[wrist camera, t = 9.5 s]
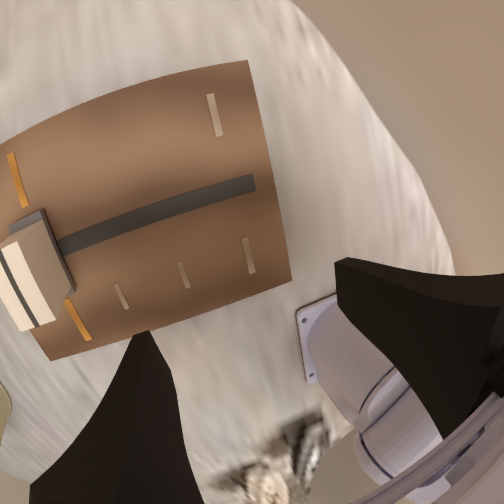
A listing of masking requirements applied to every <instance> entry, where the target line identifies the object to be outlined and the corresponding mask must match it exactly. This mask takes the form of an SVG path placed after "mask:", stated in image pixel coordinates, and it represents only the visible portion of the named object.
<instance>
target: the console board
mask: <svg viewBox="0 0 504 504" xmlns="http://www.w3.org/2000/svg"><path fill="white" fill-rule="evenodd" d="M41 209H43V211H44V214H45V217H46V219H47V222H48V225H49V227H50V230H51V233H52V235H53V238H54V240H55V242H56V245H57V247H58V250H59V252H60V254H61V257H62V259H63V261H64V263H65V266H66V268H67V270H68V272H69V274H70V276H71V278H72V280H73V283H74V285H75V287H76V289H77V290H76V292H75V293H74V294H71V295H69V296H66V298H65V300H64V303H63V305H62V307H61V310H60V312H59V314H58V317H57V319H56V320H55V321H52V322H49V323H46V324H43V325H40V327H37V328H35V327H34V328H31V329H29V330H30V332H31V333H32V335H33V336H34V338H35V339H36V341H37V342H38V344H39V345H40V347H41V348H42V350H43V351H44V353H45V354H46V356H47V357H48V358H49V360H50V361H53V360H57V359H60V358H64V357H67V356H71V355H74V354H78V353H81V352H85V351H88V350H91V349H95V348H98V347H101V346H105V345H108V344H111V343H114V342H118V341H121V340H124V339H127V338H130V337H133V335H135V334H138V333H141V332H144V331H147V330H149V331H152V330H155V329H158V328H161V327H164V326H167V325H170V324H173V323H176V322H179V321H182V320H185V319H188V318H191V317H194V316H197V315H200V314H202V313H205V312H208V311H211V310H214V309H217V308H220V307H222V306H225V305H228V304H231V303H233V302H236V301H239V300H242V299H244V298H247V297H250V296H253V295H255V294H258V293H261V292H263V291H266V290H269V289H271V288H274V287H277V286H279V285H282V284H285V283H287V282H290V281H292V276H291V270H290V264H289V258H288V253H287V247H286V241H285V236H284V230H283V225H282V220H281V214H280V209H279V204H278V199H277V193H276V188H275V183H274V178H273V173H272V168H271V163H270V158H269V154H268V149H267V144H266V139H265V135H264V130H263V125H262V121H261V116H260V112H259V107H258V103H257V98H256V94H255V90H254V85H253V81H252V77H251V72H250V68H249V64H248V60H245V61H238V62H231V63H225V64H219V65H213V66H208V67H203V68H198V69H193V70H188V71H184V72H180V73H175V74H171V75H167V76H163V77H160V78H156V79H152V80H149V81H145V82H142V83H139V84H135V85H132V86H129V87H126V88H123V89H120V90H117V91H114V92H111V93H109V94H106V95H103V96H100V97H98V98H95V99H92V100H90V101H87V102H85V103H82V104H80V105H78V106H75V107H73V108H71V109H68V110H66V111H64V112H62V113H59V114H57V115H55V116H53V117H51V118H49V119H47V120H45V121H43V122H41V123H39V124H37V125H35V126H33V127H31V128H29V129H27V130H25V131H24V132H22V133H20V134H18V135H16V136H15V137H13V138H11V139H9V140H8V141H6V142H4V143H3V144H1V145H0V243H1V242H3V241H4V240H5V239H6V238H8V237H9V236H10V232H9V230H8V226H9V225H11V224H12V223H14V222H16V221H18V220H20V219H22V218H24V217H26V216H28V215H30V214H32V213H35V212H37V211H39V210H41Z"/></svg>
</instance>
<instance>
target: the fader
mask: <svg viewBox="0 0 504 504" xmlns="http://www.w3.org/2000/svg"><path fill="white" fill-rule="evenodd" d="M8 230H9V232H10V236H9V237H8V238H6V239H5V240H4V241H3V242H1V243H0V297H1V299H2V301H3V302H4V304H5V306H6V308H7V310H8V311H9V313H10V315H11V316H12V318H13V320H14V321H15V323H16V325H17V326H18V328H19V330H20V331H21V332H22V331H25V330H28V329H31V328H34V327H35V328H37V327H40V325H43V324H46V323H49V322H52V321H55V320H56V319H57V317H58V314H59V312H60V310H61V307H62V305H63V303H64V300H65V298H66V296H69V295H71V294H74V293H75V292H76V290H77V289H76V287H75V285H74V283H73V280H72V278H71V276H70V274H69V272H68V270H67V268H66V266H65V263H64V261H63V259H62V257H61V254H60V252H59V250H58V247H57V245H56V242H55V240H54V238H53V235H52V233H51V230H50V227H49V225H48V222H47V219H46V217H45V214H44V211H43V209H41V210H39V211H37V212H35V213H32V214H30V215H28V216H26V217H24V218H22V219H20V220H18V221H16V222H14V223H12V224H11V225H9V226H8Z"/></svg>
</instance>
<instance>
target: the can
mask: <svg viewBox="0 0 504 504" xmlns="http://www.w3.org/2000/svg"><path fill="white" fill-rule="evenodd" d="M11 409H12V405H11V400H10V397H9V395H8V393H7V391H6V390H5V388H4V386H3V385H2V384H1V382H0V445H1V441H2V436H3V433H4V429H5V425H6V422H7V419H8V416H9V415H10V413H11Z"/></svg>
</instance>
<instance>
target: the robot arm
mask: <svg viewBox="0 0 504 504" xmlns="http://www.w3.org/2000/svg"><path fill="white" fill-rule="evenodd" d="M334 266H335V278H336V291H337V294H335V295H332V296H330V297H328V298H325V299H323V300H321V301H319V302H316V303H314V304H312V305H309V306H307V307H304V308H302V309H300V310H299V311H298V312H297V314H296V318H297V324H298V330H299V337H300V343H301V350H302V356H303V363H304V370H305V377H306V382H307V383H308V384H313V383H315V382H317V381H318V382H319V384H320V385H321V387H322V388H323V389H324V391H325V392H326V393H327V395H328V396H329V397H330V399H331V400H332V402H333V403H334V404H335V406H336V407H337V408H338V410H339V411H340V412H341V414H342V415H343V416H344V418H345V419H346V420H347V421H348V422H350V423H351V424H353V425H355V427H356V428H357V429H358V430H359V432H358V433H357V434H356V436H355V437H354V451H355V455H356V458H357V460H358V462H359V464H360V465H361V467H362V468H363V470H364V471H365V472H366V473H367V474H368V475H369V476H370V477H371V478H372V479H373V480H374V481H375V482H376V483H378V484H379V485H381V486H380V487H379V488H377V489H375V490H373V491H372V492H370V493H368V494H367V495H365V496H363V497H361V498H360V499H358V500H356V501H354V502H352V503H350V504H394V503H395V502H397V501H399V500H400V499H401V498H403V497H405V498H407V499H408V500H410V501H413V502H414V503H416V504H424V503H429V502H432V503H431V504H504V273H502V274H495V275H483V276H449V275H438V274H429V273H422V272H416V271H411V270H406V269H401V268H396V267H392V266H387V265H383V264H379V263H374V262H370V261H366V260H361V259H356V258H349V257H347V258H344V259H342V260H339V261H337V262H334ZM304 318H305V319H304ZM302 319H304V320H303V321H302ZM29 496H30V497H29V504H204V501H203V499H202V497H201V494H200V491H199V489H198V486H197V483H196V481H195V478H194V475H193V472H192V469H191V466H190V463H189V460H188V457H187V453H186V449H185V444H184V439H183V433H182V427H181V420H180V414H179V407H178V400H177V393H176V389H175V385H174V381H173V378H172V374H171V370H170V368H169V366H168V365H167V363H166V361H165V359H164V357H163V356H162V354H161V352H160V350H159V348H158V346H157V344H156V343H155V341H154V339H153V337H152V335H151V333H150V331H149V330H147V331H144V332H141V333H138V334H135V335H133V337H132V339H131V341H130V343H129V345H128V347H127V350H126V352H125V354H124V356H123V359H122V361H121V363H120V365H119V367H118V370H117V372H116V374H115V376H114V378H113V380H112V382H111V384H110V386H109V388H108V390H107V391H106V393H105V395H104V397H103V399H102V401H101V403H100V404H99V406H98V408H97V409H96V411H95V412H94V414H93V415H92V417H91V419H90V420H89V422H88V423H87V424H86V426H85V427H84V428H83V430H82V431H81V432H80V434H79V435H78V436H77V438H76V439H75V440H74V442H73V443H72V444H71V445H70V447H69V448H68V449H67V450H66V451H65V452H64V453H63V455H62V456H61V457H60V458H59V459H58V460H57V461H56V462H55V463H54V464H53V465H52V466H51V467H50V468H49V469H48V470H47V471H45V472H44V473H43V474H42V475H41V476H40V477H39V478H38V479H37V480H35V481H34V482H33V483H32V484H31V485H30V494H29Z"/></svg>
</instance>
